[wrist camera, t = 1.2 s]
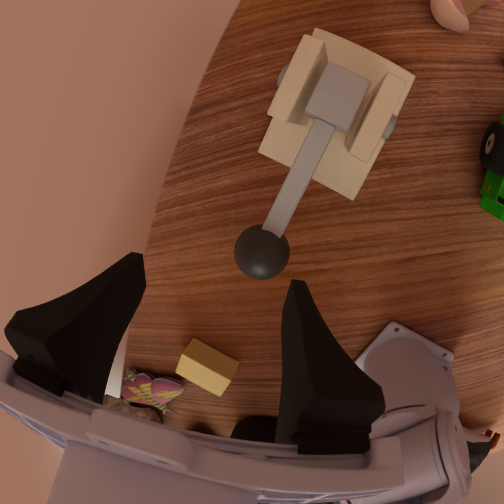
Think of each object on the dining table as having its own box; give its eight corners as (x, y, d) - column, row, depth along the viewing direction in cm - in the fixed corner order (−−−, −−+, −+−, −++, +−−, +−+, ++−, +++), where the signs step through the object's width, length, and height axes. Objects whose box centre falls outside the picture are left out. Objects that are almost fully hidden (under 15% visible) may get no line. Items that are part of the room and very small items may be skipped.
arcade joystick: (278, 276, 18) (269, 298, 15) (235, 252, 18) (218, 271, 15) (371, 96, 13) (381, 83, 10) (321, 72, 13) (320, 54, 11)
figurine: (516, 421, 21) (454, 417, 22) (486, 481, 19) (416, 488, 21) (488, 411, 28) (425, 403, 30) (462, 465, 26) (395, 465, 28)
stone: (108, 372, 46) (180, 405, 45) (107, 424, 50) (168, 452, 49) (70, 412, 33) (155, 456, 33) (80, 461, 37) (149, 496, 37)
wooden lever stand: (352, 198, 21) (360, 241, 13) (260, 151, 22) (211, 164, 14) (413, 78, 16) (457, 47, 8) (316, 31, 17) (299, -26, 8)
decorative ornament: (154, 363, 33) (203, 413, 35) (162, 353, 35) (209, 402, 37) (102, 379, 41) (141, 418, 42) (109, 371, 42) (147, 410, 44)
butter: (240, 362, 31) (231, 380, 29) (228, 379, 33) (220, 397, 31) (193, 337, 32) (182, 353, 29) (185, 356, 34) (174, 372, 31)
